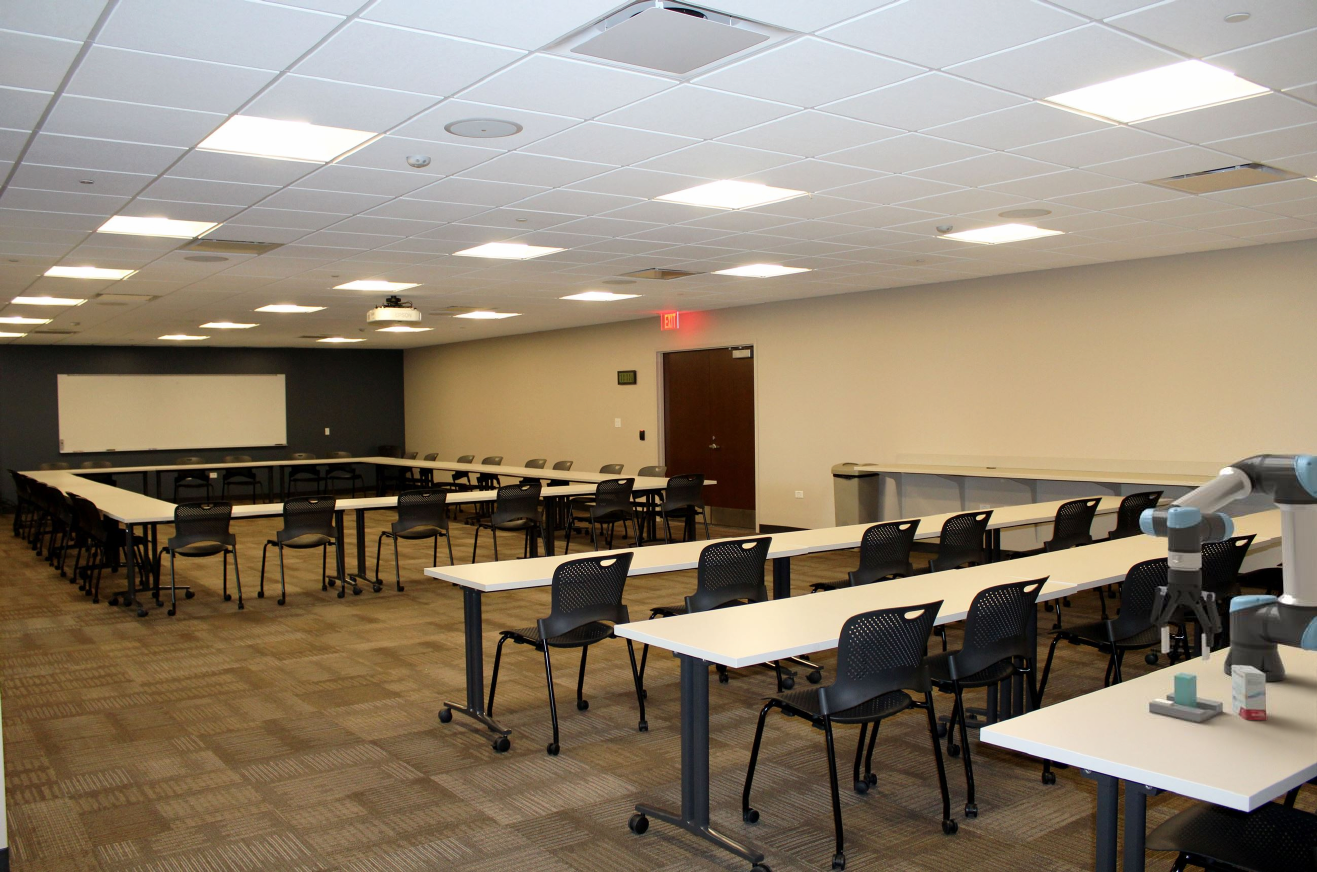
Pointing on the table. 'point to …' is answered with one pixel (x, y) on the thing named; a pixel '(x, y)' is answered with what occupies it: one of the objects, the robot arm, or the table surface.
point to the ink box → (1248, 692)
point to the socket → (1186, 709)
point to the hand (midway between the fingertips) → (1185, 655)
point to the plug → (1185, 690)
